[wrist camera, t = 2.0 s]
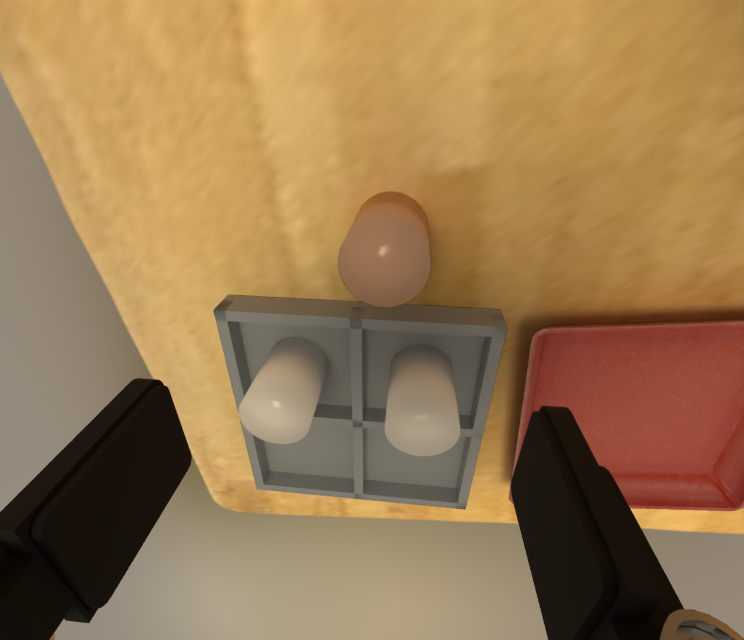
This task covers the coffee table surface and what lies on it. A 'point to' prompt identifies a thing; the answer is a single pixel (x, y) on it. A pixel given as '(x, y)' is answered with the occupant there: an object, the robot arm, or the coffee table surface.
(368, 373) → the gray divided tray
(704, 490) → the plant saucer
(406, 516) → the coffee table surface
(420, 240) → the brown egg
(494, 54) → the coffee table surface
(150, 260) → the coffee table surface
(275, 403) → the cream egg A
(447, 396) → the cream rounded cylinder
